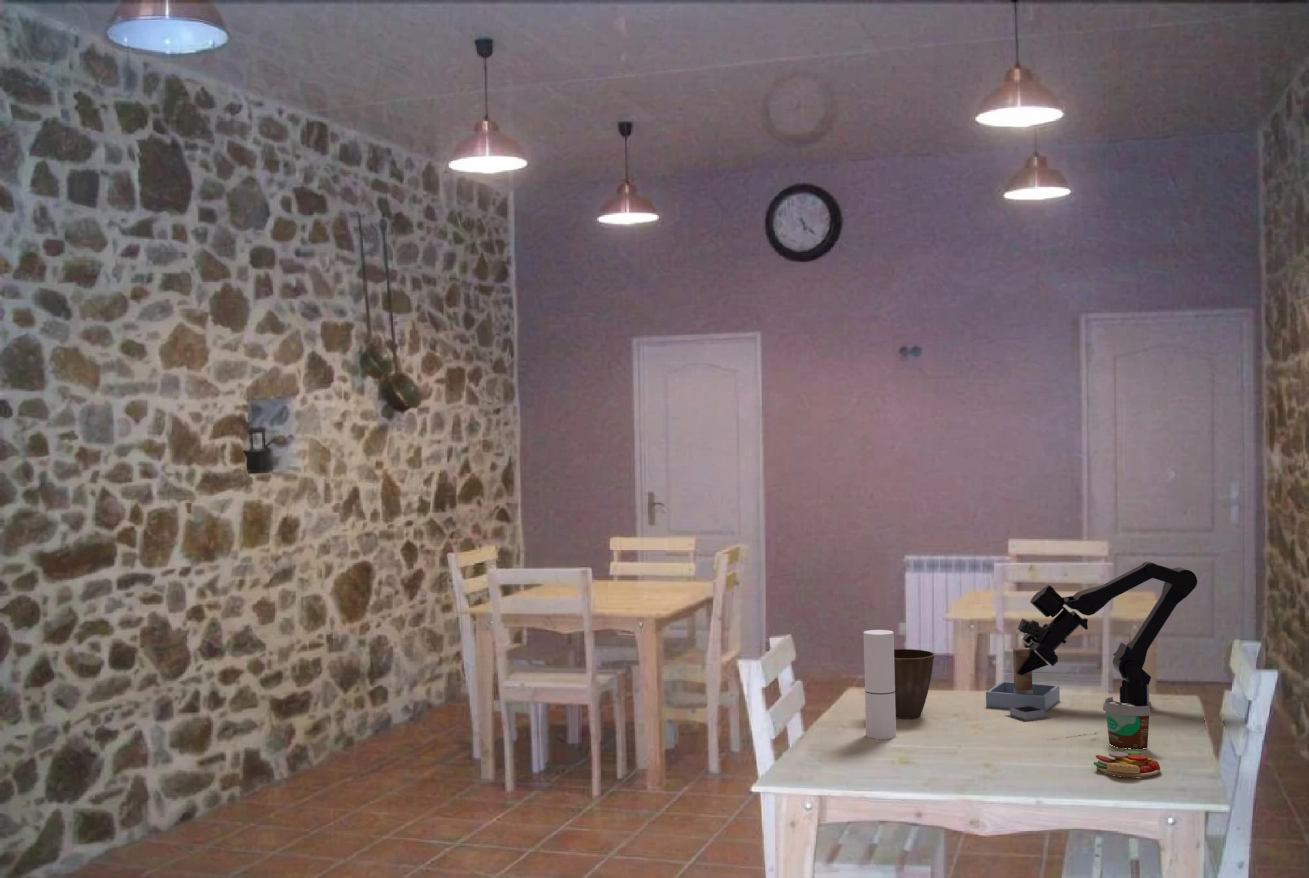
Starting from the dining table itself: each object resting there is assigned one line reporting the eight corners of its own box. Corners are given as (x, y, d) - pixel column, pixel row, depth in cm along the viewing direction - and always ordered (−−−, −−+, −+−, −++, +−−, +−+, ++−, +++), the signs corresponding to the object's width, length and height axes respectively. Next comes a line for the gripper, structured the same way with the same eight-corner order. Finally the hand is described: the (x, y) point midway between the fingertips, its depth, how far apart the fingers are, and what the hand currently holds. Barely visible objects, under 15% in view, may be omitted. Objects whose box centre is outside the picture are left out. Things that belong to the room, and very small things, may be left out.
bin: (1059, 702, 342) (1059, 685, 342) (1045, 714, 329) (1045, 696, 329) (1002, 697, 350) (1002, 681, 350) (986, 709, 337) (985, 691, 337)
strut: (1030, 693, 342) (1028, 647, 341) (1033, 696, 337) (1031, 650, 337) (1013, 693, 342) (1012, 647, 342) (1016, 696, 338) (1015, 650, 338)
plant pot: (866, 711, 337) (865, 650, 337) (918, 707, 341) (917, 646, 341) (891, 724, 323) (890, 660, 323) (946, 719, 327) (944, 656, 327)
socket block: (1030, 714, 329) (1030, 704, 329) (1051, 720, 322) (1050, 710, 322) (1004, 717, 327) (1004, 707, 327) (1024, 724, 319) (1024, 713, 319)
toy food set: (1119, 783, 267) (1118, 767, 267) (1080, 767, 279) (1080, 752, 279) (1173, 776, 270) (1173, 761, 270) (1133, 761, 283) (1133, 746, 283)
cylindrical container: (894, 732, 315) (892, 629, 314) (897, 739, 307) (894, 634, 307) (865, 732, 315) (862, 629, 315) (867, 739, 308) (864, 634, 308)
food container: (1091, 742, 300) (1090, 699, 300) (1111, 739, 302) (1110, 696, 302) (1131, 753, 289) (1130, 709, 289) (1152, 750, 291) (1151, 706, 291)
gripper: (1029, 603, 348) (989, 644, 350) (1043, 613, 330) (1000, 657, 331) (1060, 632, 348) (1019, 673, 349) (1076, 643, 329) (1033, 687, 330)
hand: (1017, 672), depth 340 cm, fingers closed on strut, 4 cm apart
